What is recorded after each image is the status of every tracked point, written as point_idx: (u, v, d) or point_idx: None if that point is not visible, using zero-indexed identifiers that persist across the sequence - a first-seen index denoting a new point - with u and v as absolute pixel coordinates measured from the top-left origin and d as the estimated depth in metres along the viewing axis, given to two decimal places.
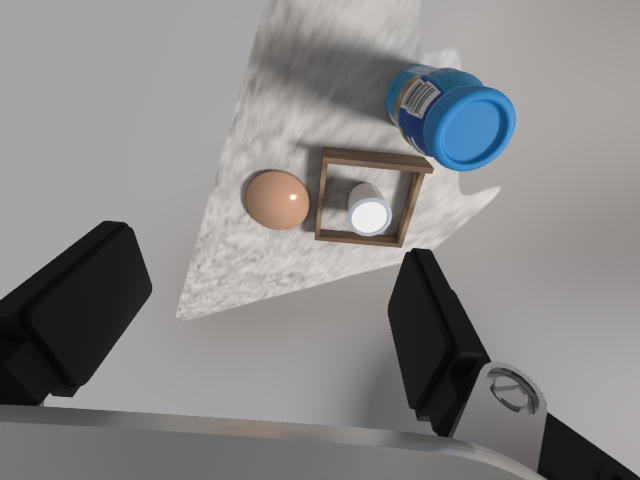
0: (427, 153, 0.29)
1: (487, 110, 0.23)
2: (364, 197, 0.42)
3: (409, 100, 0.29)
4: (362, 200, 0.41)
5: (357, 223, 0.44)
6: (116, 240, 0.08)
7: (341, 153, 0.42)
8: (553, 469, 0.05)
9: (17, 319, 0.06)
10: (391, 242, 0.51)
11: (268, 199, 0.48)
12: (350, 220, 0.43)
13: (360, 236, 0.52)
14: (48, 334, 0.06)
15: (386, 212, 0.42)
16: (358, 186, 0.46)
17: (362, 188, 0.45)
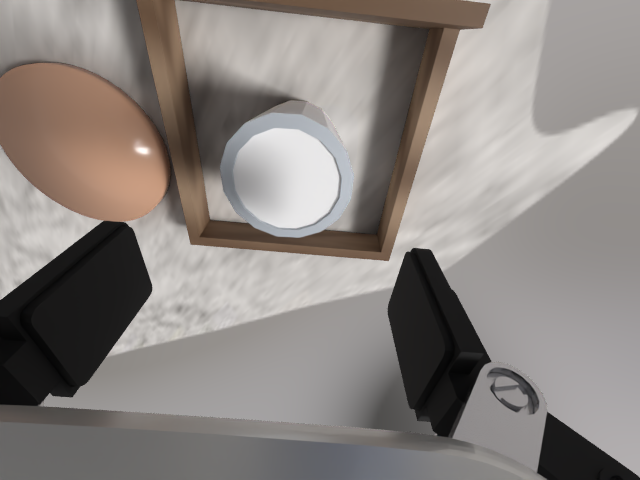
0: None
1: None
2: (262, 115, 0.13)
3: None
4: (253, 123, 0.13)
5: (255, 201, 0.15)
6: (116, 240, 0.08)
7: None
8: (553, 469, 0.05)
9: (17, 319, 0.06)
10: (365, 249, 0.23)
11: (57, 145, 0.19)
12: (232, 192, 0.15)
13: None
14: (48, 334, 0.06)
15: (335, 166, 0.14)
16: (273, 107, 0.18)
17: (277, 106, 0.16)
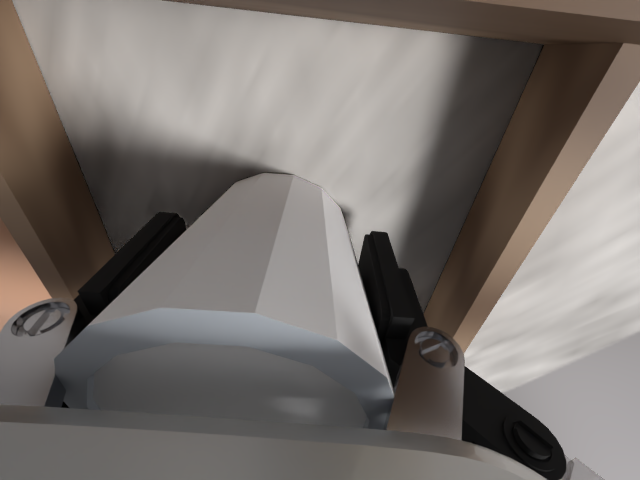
0: None
1: None
2: (150, 288, 0.05)
3: None
4: (111, 329, 0.04)
5: None
6: (173, 229, 0.09)
7: None
8: (465, 415, 0.06)
9: (106, 296, 0.07)
10: None
11: None
12: None
13: None
14: None
15: (353, 401, 0.05)
16: (230, 189, 0.09)
17: (229, 201, 0.08)
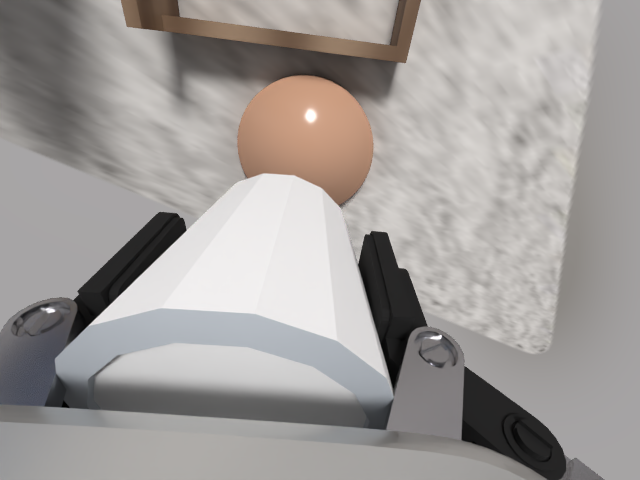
0: None
1: None
2: (150, 289, 0.05)
3: None
4: (112, 329, 0.04)
5: None
6: (173, 229, 0.09)
7: None
8: (465, 415, 0.06)
9: (106, 296, 0.07)
10: None
11: (297, 170, 0.24)
12: None
13: None
14: None
15: (352, 401, 0.05)
16: (230, 190, 0.09)
17: (230, 201, 0.08)
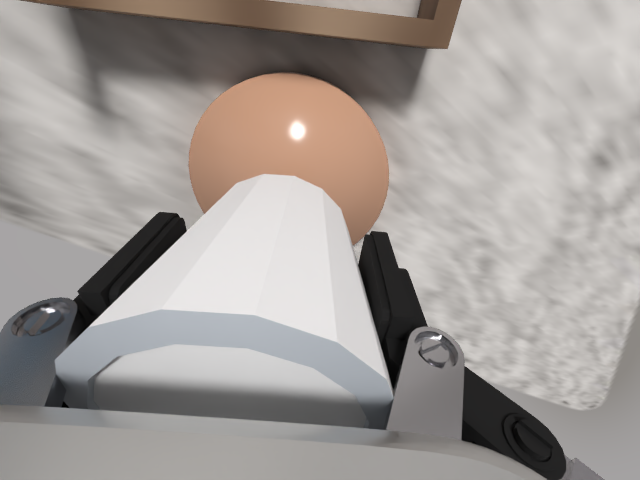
0: None
1: None
2: (151, 290, 0.05)
3: None
4: (112, 330, 0.04)
5: None
6: (173, 229, 0.09)
7: None
8: (465, 415, 0.06)
9: (106, 296, 0.07)
10: None
11: None
12: None
13: None
14: None
15: (352, 402, 0.05)
16: (230, 190, 0.09)
17: (230, 202, 0.08)
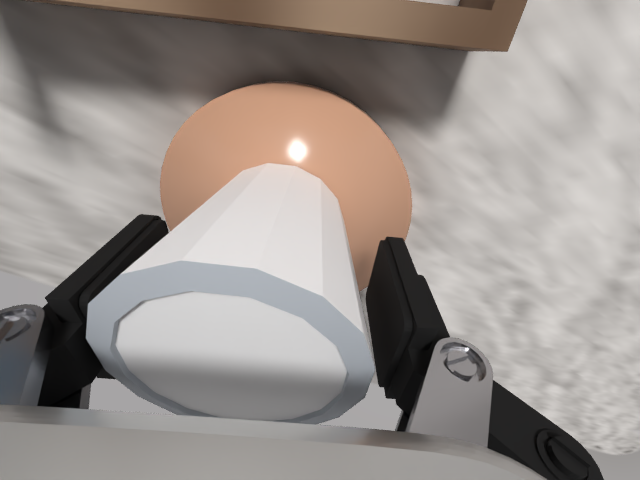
0: None
1: None
2: (170, 248, 0.06)
3: None
4: (139, 277, 0.05)
5: (173, 386, 0.07)
6: (153, 232, 0.09)
7: None
8: (495, 431, 0.05)
9: (75, 302, 0.06)
10: None
11: None
12: (121, 375, 0.07)
13: None
14: None
15: (335, 354, 0.06)
16: (237, 176, 0.10)
17: (237, 185, 0.09)
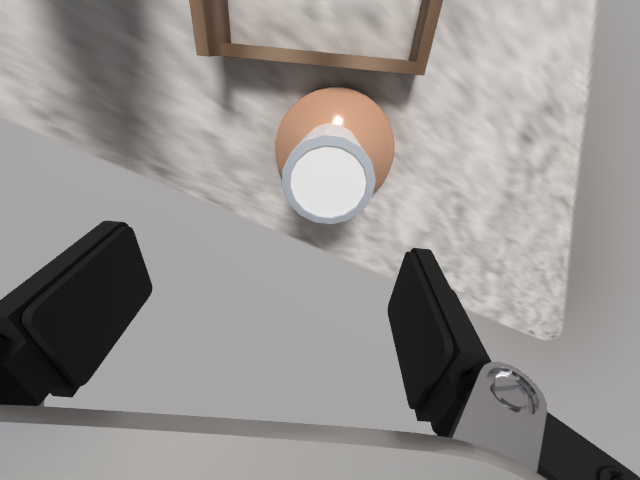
0: None
1: None
2: (315, 136, 0.19)
3: None
4: (310, 141, 0.19)
5: (303, 195, 0.21)
6: (116, 240, 0.08)
7: None
8: (553, 469, 0.05)
9: (17, 319, 0.06)
10: None
11: None
12: (288, 187, 0.21)
13: None
14: (48, 334, 0.06)
15: (363, 172, 0.20)
16: (315, 128, 0.24)
17: (320, 128, 0.23)
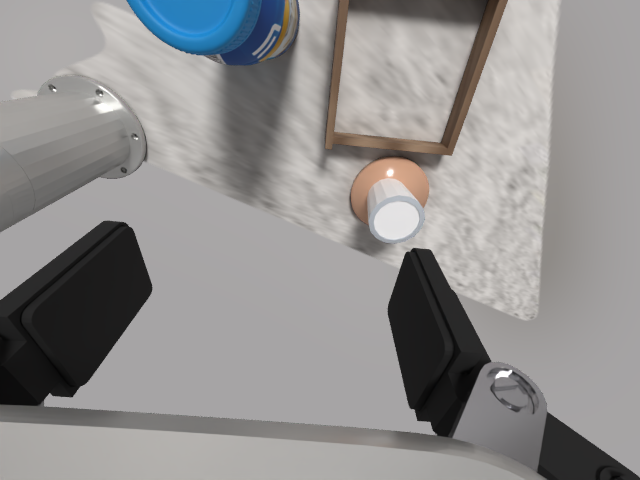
0: (270, 21, 0.18)
1: None
2: (392, 194, 0.33)
3: None
4: (390, 198, 0.33)
5: (380, 227, 0.35)
6: (116, 240, 0.08)
7: (327, 119, 0.33)
8: (553, 469, 0.05)
9: (17, 319, 0.06)
10: (493, 13, 0.27)
11: None
12: (372, 223, 0.35)
13: (466, 77, 0.32)
14: (48, 334, 0.06)
15: (418, 215, 0.34)
16: (381, 181, 0.38)
17: (387, 184, 0.37)
